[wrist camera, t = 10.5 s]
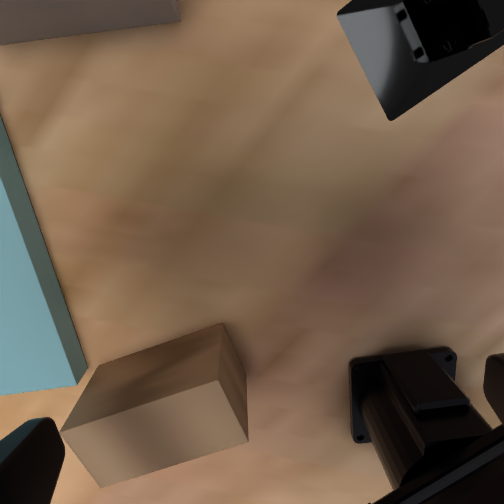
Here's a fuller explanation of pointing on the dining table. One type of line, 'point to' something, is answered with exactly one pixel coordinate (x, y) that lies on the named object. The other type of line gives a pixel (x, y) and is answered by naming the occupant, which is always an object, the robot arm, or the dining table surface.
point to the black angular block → (419, 44)
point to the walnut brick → (160, 408)
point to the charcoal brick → (78, 17)
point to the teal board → (30, 296)
